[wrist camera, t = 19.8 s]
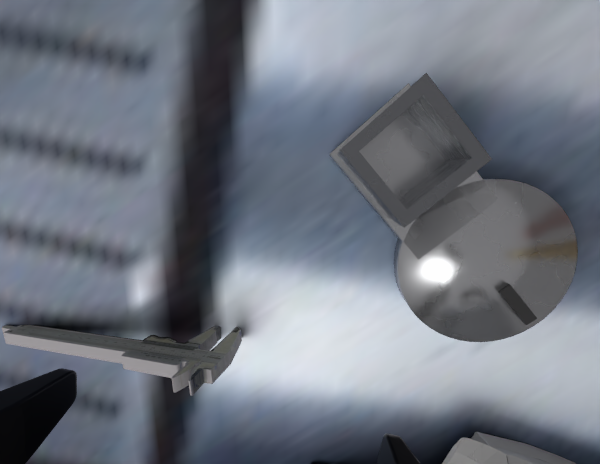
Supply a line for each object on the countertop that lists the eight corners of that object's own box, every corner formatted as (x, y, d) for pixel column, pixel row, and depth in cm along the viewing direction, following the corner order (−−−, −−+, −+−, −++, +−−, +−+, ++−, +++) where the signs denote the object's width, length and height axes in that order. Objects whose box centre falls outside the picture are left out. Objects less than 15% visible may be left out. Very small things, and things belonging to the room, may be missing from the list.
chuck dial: (594, 269, 19) (670, 295, 15) (455, 359, 21) (488, 404, 17) (436, 59, 17) (472, 22, 13) (301, 180, 19) (295, 181, 15)
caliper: (243, 324, 22) (213, 380, 16) (244, 336, 22) (215, 397, 16) (8, 323, 24) (-101, 374, 18) (10, 334, 24) (-96, 389, 18)
